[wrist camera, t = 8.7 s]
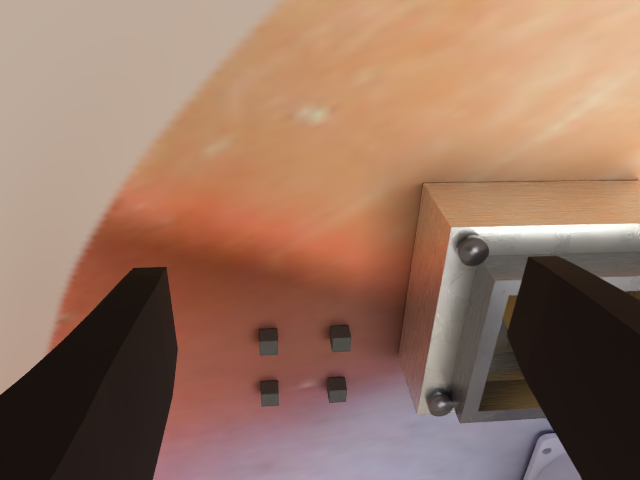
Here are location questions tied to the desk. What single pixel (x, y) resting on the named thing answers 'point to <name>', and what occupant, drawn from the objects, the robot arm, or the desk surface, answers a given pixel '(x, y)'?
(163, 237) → the desk surface
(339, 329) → the cradle
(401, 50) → the desk surface
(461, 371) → the silver open square box
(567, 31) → the desk surface
